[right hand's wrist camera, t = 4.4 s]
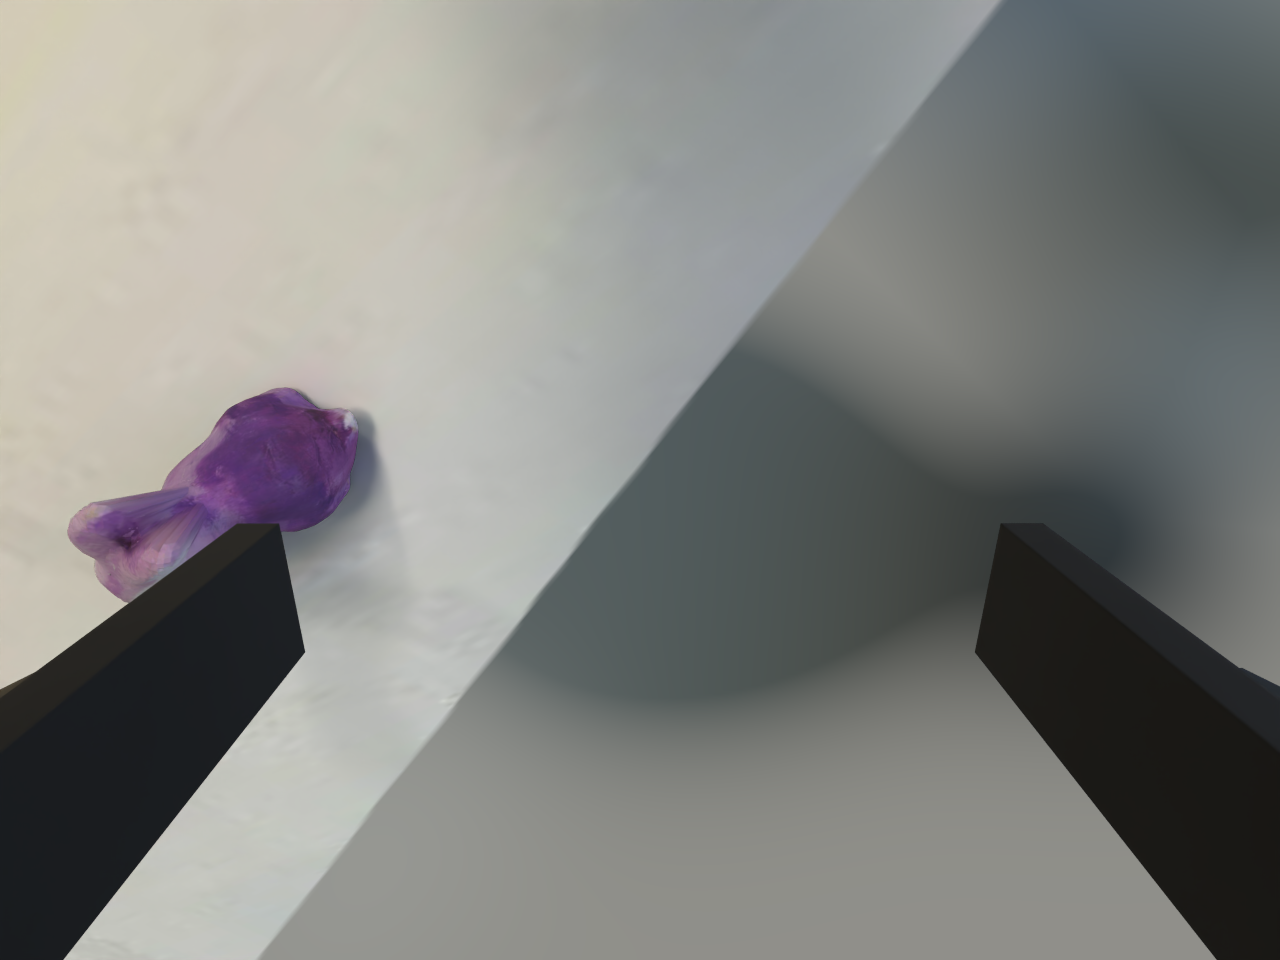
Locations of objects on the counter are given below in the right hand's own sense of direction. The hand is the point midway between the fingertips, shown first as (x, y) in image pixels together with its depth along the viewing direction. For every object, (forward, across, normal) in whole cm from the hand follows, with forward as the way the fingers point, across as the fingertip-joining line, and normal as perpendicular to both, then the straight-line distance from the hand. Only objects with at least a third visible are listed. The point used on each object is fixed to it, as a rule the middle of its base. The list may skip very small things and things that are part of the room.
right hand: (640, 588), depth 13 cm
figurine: (+30, -22, -8) cm, 38 cm away
